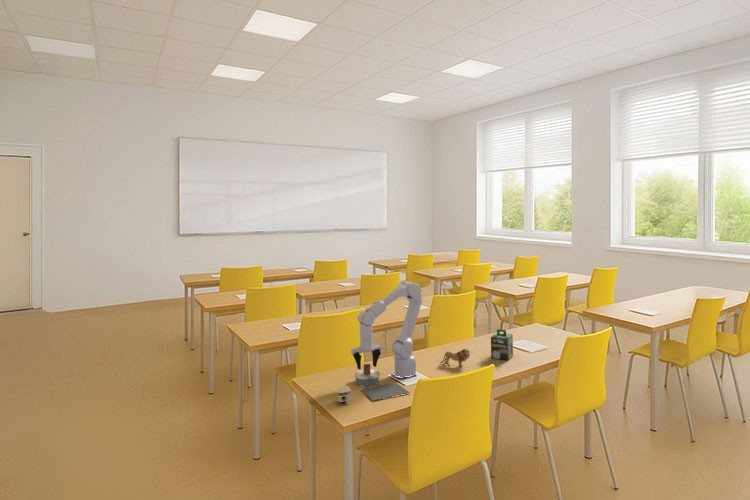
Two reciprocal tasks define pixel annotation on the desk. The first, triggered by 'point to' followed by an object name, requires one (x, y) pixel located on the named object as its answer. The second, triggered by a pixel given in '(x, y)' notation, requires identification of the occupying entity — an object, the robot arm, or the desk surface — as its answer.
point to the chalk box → (502, 345)
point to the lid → (367, 373)
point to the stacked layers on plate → (344, 394)
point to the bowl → (367, 382)
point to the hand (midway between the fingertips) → (366, 367)
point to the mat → (384, 391)
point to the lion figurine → (457, 356)
